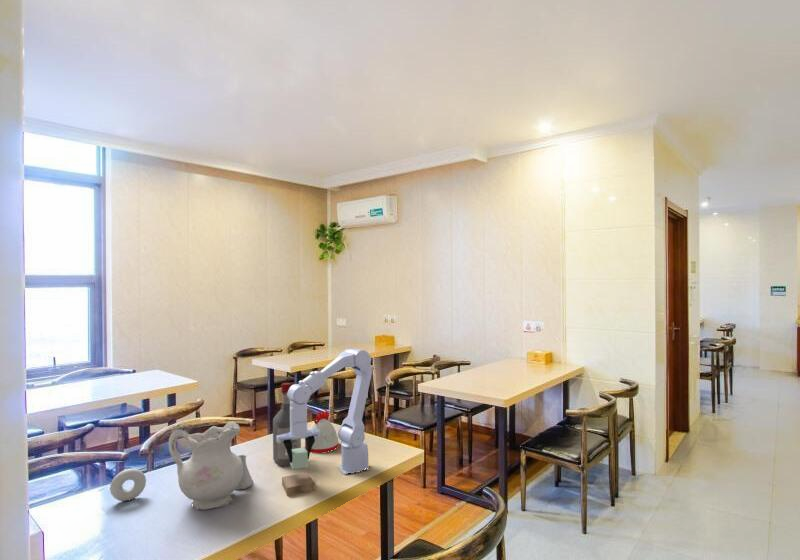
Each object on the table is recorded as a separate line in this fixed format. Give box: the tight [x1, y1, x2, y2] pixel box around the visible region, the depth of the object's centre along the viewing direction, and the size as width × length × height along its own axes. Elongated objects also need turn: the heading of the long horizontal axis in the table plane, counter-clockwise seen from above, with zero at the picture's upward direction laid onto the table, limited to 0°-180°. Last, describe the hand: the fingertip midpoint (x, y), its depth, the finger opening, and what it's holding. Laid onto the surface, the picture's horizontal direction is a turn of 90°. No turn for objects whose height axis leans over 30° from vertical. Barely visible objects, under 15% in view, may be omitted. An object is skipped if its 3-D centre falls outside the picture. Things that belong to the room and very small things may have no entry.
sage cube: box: [289, 446, 309, 470], centre depth 156 cm, size 5×5×5 cm
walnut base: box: [281, 472, 315, 497], centre depth 155 cm, size 9×9×3 cm
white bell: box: [304, 409, 339, 454], centre depth 192 cm, size 14×14×15 cm
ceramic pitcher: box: [168, 420, 243, 511], centre depth 145 cm, size 22×20×25 cm
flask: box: [235, 454, 254, 491], centre depth 157 cm, size 7×7×10 cm
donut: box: [109, 468, 147, 502], centre depth 147 cm, size 10×3×10 cm, turn 124°
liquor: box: [272, 382, 302, 467], centre depth 177 cm, size 9×9×30 cm
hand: (298, 460), depth 156 cm, fingers closed on sage cube, 5 cm apart
